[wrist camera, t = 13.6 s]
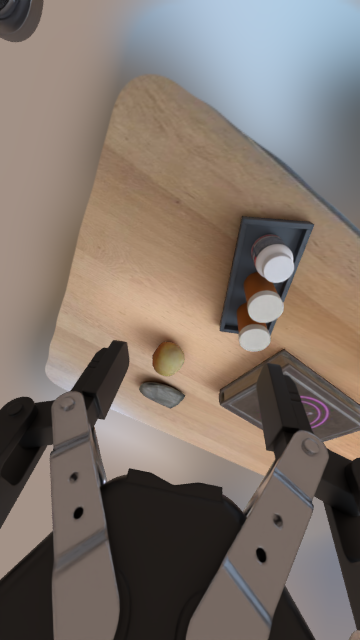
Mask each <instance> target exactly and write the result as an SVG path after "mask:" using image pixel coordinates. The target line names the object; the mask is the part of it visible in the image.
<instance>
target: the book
mask: <svg viewBox="0 0 360 640" xmlns="http://www.w3.org/2000/svg"><path fill="white" fill-rule="evenodd" d="M264 363H272V364H279V365H280V366H281V368H282V371H283V375H288V376H290V377H291V379H292V380H293V381H294V382H295V384H296V386H297V389H298V392H299V395H300V397H301V400H302V401H301V402H302V403H303V406H304V409H305V411H306V414H307V417H308V420H309V423H310V426H311V428H312V431H313V433H314V435H316V436H317V437H318V438H319V439H320V440H321V441H322V442H324V441H328V440H331V439H334V438H337V437H341V436H344V435H347V434H350V433H353V432H357V431H360V405H359V404H358V403H356V402H355V401H354V400H352V399H351V398H350V397H348V396H347V395H345V394H344V393H343V392H341V391H340V390H339V389H337V388H336V387H335V386H333V385H332V384H330V383H329V382H328V381H326V380H325V379H324V378H322V377H321V376H320V375H318V374H317V373H315V372H314V371H313V370H311V369H310V368H309V367H307V366H306V365H305V364H303V363H302V362H300V361H299V360H298V359H296V358H295V357H294V356H292V355H291V354H289V353H288V352H287V351H285V350H284V349H283V350H282V351H280V352H279V353H277V354H275V355H274V356H272V357H271V358H269V359H268V360H266V361H264V362H263V363H261V364H260V365H258V366H257V367H255V368H254V369H252V370H250V371H249V372H247V373H246V374H244V375H243V376H241V377H239V378H238V379H236V380H235V381H233V382H232V383H230V384H228V385H227V386H225V387H224V388H222V389H221V390H220V393H219V403H220V405H221V406H222V407H224V408H226V409H227V410H229V411H231V412H233V413H234V414H236V415H238V416H239V417H241V418H243V419H245V420H246V421H248V422H250V423H251V424H253V425H255V426H257V427H258V428H260V429H262V430H263V426H262V420H261V414H260V408H259V402H258V396H257V390H256V385H257V380H258V377H259V375H260V372H261V370H262V368H263V365H264Z"/></svg>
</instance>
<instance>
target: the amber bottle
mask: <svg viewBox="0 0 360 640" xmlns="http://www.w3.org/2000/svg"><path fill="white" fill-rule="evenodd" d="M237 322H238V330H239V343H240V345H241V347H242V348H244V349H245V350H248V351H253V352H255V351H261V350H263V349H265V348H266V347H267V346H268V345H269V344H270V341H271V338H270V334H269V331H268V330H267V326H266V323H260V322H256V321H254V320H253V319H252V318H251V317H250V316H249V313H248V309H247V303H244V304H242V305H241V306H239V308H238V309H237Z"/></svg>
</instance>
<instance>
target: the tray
mask: <svg viewBox="0 0 360 640" xmlns="http://www.w3.org/2000/svg"><path fill="white" fill-rule="evenodd" d="M313 227H314V224H313V223H311V222H308V221H295V220H283V219H271V218H259V217H247V216H242V219H241V224H240V229H239V234H238V238H237V243H236V248H235V253H234V258H233V263H232V268H231V273H230V278H229V283H228V288H227V292H226V297H225V302H224V307H223V312H222V317H221V322H220V331H222V332H229V333H237V334H239V330H238V322H237V309H238V308H239V306H241V305H242V304H244V303H247V301H246V296H245V291H244V281H245V279H246V278H247V277H248V276H249V275H250V274H252V273H255V272H258V271H257V269H256V267H255V264H254V261H253V259H252V256H251V249H252V246H253V244H254V243H255V241H256V240H257V239H258V238H260V237H261V236H264V235H267V234H273V235H276V236H278V237H280V238H281V240H282V241H283V242H284V244H285V245H286V246H287V247H288V248H289V249H290V250H291V252H292V254H293V263H294V271H293V273H292V275H291V276H290V277H289V278H288V279H286V280H285V281H283V282H279V283H273V285H274V287H275V289H276V291H277V293H278V295H279V296H280V298H281V300H282V302H284V300H285V297H286V295H287V292H288V290H289V287H290V285H291V282H292V280H293V277H294V275H295V272H296V270H297V267H298V265H299V262H300V259H301V257H302V254H303V252H304V249H305V247H306V244H307V242H308V239H309V237H310V234H311V232H312V229H313ZM276 320H277V319H275V320H274V321H271V322H267V323H266V326H267V330H268V331H269V334H270V335H271V333H272V330H273V328H274V325H275V323H276Z"/></svg>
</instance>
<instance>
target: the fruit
mask: <svg viewBox="0 0 360 640" xmlns="http://www.w3.org/2000/svg"><path fill="white" fill-rule="evenodd" d="M183 363H184V353H183V351H182V349H181V348H180V347H179V346H178V345H176V344H174V343H170V342H164V343H161V344H160V345H159V346H158V348H157V349H156V351H155V352H154V354H153V367H154V369H155V370H156V372H158V373H159V374H161V375H164V376H171V375H174V374H175V373H176V372H178V371H179V370H180V369H181V367H182V365H183Z"/></svg>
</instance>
